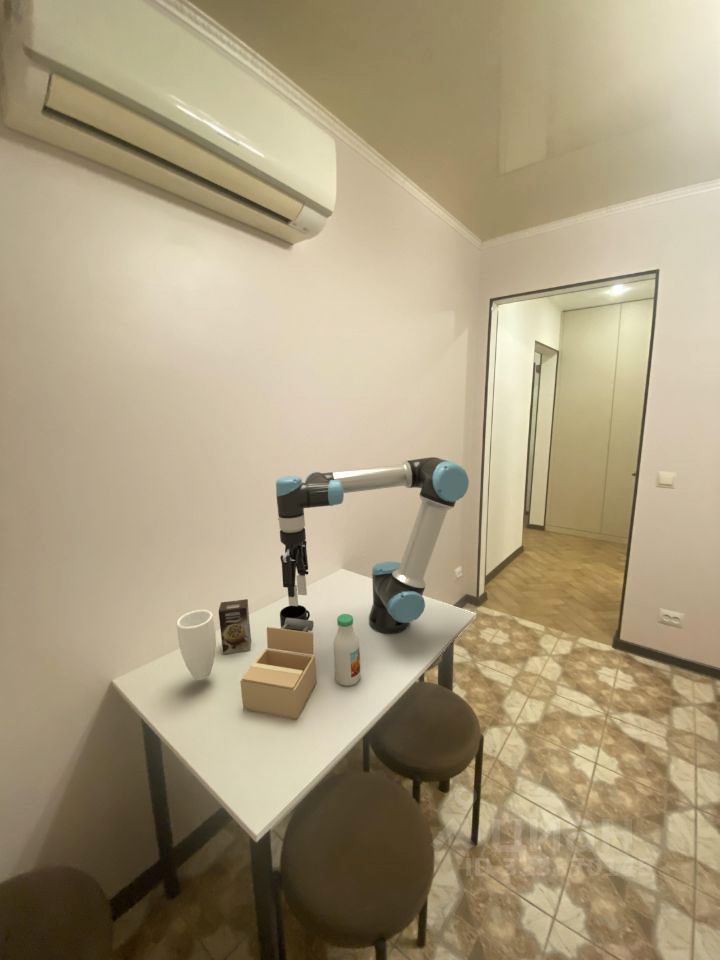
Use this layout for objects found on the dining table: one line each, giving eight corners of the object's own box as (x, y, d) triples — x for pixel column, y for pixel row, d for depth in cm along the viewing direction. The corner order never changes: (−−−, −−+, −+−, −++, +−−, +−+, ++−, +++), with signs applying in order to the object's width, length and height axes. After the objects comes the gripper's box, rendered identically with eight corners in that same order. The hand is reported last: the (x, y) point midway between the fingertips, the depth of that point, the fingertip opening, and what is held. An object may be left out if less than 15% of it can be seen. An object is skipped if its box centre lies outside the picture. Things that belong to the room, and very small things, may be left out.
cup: (185, 677, 119) (176, 613, 115) (220, 667, 123) (213, 605, 119) (183, 700, 110) (173, 632, 105) (222, 689, 113) (214, 623, 109)
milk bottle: (343, 690, 111) (339, 628, 107) (330, 675, 118) (327, 615, 114) (365, 679, 115) (363, 619, 111) (352, 665, 122) (349, 607, 118)
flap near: (313, 654, 113) (323, 640, 121) (312, 632, 112) (322, 620, 120) (267, 648, 117) (280, 634, 125) (266, 626, 116) (279, 615, 124)
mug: (318, 630, 141) (317, 607, 140) (292, 645, 133) (290, 621, 131) (302, 620, 148) (300, 599, 146) (276, 635, 139) (274, 612, 137)
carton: (316, 682, 115) (314, 653, 113) (297, 720, 101) (294, 687, 100) (268, 674, 119) (265, 646, 117) (243, 709, 106) (239, 678, 104)
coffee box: (222, 655, 129) (217, 611, 126) (225, 643, 135) (220, 601, 132) (250, 651, 131) (246, 607, 127) (251, 639, 137) (247, 598, 134)
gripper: (294, 518, 125) (299, 584, 130) (265, 539, 107) (272, 614, 112) (315, 519, 123) (320, 586, 128) (290, 540, 105) (296, 617, 110)
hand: (298, 599), depth 120 cm, fingers open, 6 cm apart
